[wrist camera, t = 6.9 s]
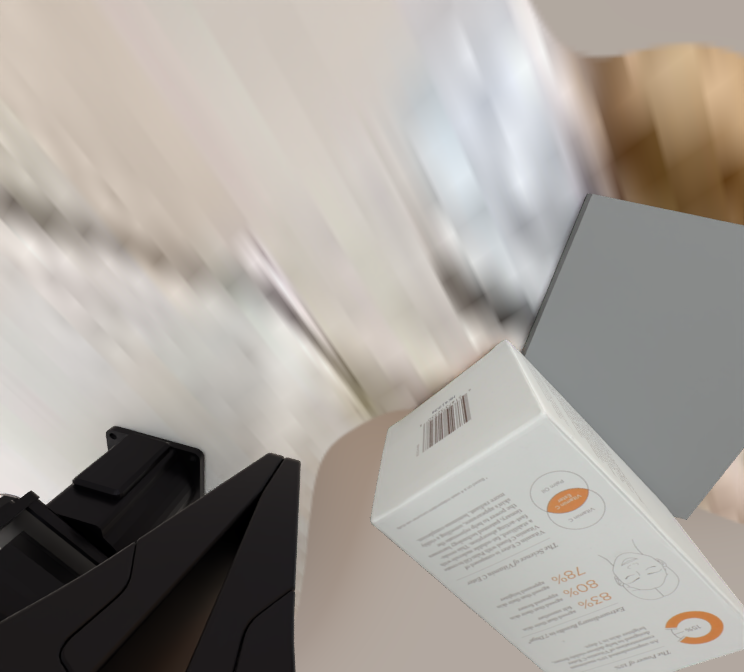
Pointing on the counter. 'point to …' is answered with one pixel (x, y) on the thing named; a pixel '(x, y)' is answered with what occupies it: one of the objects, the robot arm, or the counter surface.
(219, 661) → the robot arm
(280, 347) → the counter surface
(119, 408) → the counter surface
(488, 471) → the small box
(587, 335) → the mat
